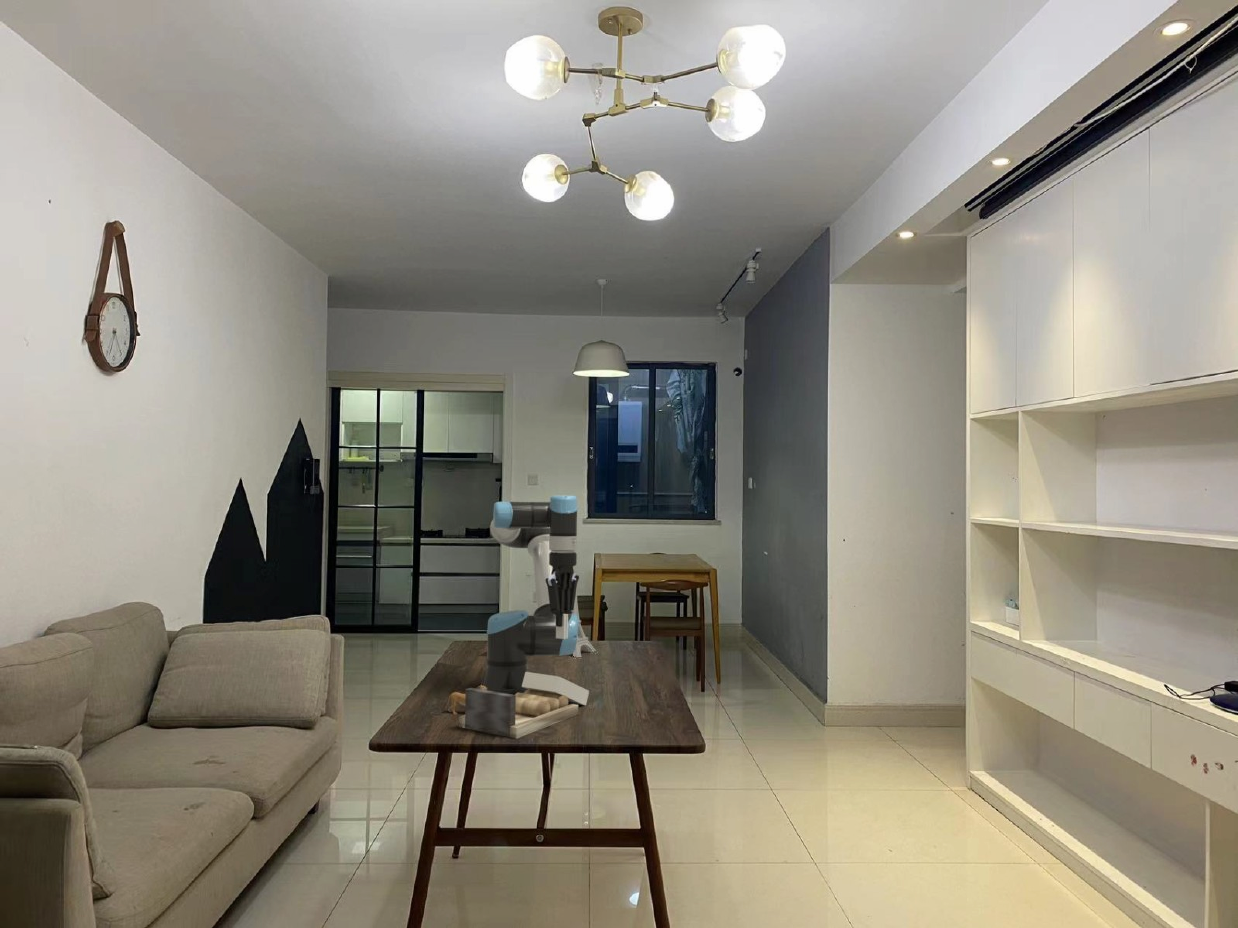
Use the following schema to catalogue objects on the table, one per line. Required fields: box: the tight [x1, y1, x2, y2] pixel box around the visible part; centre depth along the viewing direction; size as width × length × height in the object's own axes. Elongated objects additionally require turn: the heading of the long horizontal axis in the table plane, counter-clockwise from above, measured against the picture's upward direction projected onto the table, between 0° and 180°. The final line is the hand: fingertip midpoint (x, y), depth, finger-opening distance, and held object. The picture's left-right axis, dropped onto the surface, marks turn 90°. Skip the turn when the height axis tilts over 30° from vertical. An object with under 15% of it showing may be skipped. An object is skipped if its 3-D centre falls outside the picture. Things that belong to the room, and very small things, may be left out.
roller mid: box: [515, 692, 559, 712], centre depth 221 cm, size 12×4×4 cm
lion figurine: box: [441, 685, 487, 715], centre depth 221 cm, size 12×4×7 cm, turn 93°
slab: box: [522, 671, 590, 706], centre depth 228 cm, size 11×16×4 cm
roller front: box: [515, 697, 550, 717], centre depth 217 cm, size 12×4×4 cm
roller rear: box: [524, 690, 569, 709], centre depth 224 cm, size 12×4×4 cm, turn 60°
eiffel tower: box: [571, 570, 597, 657], centre depth 304 cm, size 13×13×30 cm
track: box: [458, 687, 579, 739], centre depth 215 cm, size 18×26×10 cm
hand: (561, 638), depth 231 cm, fingers closed
